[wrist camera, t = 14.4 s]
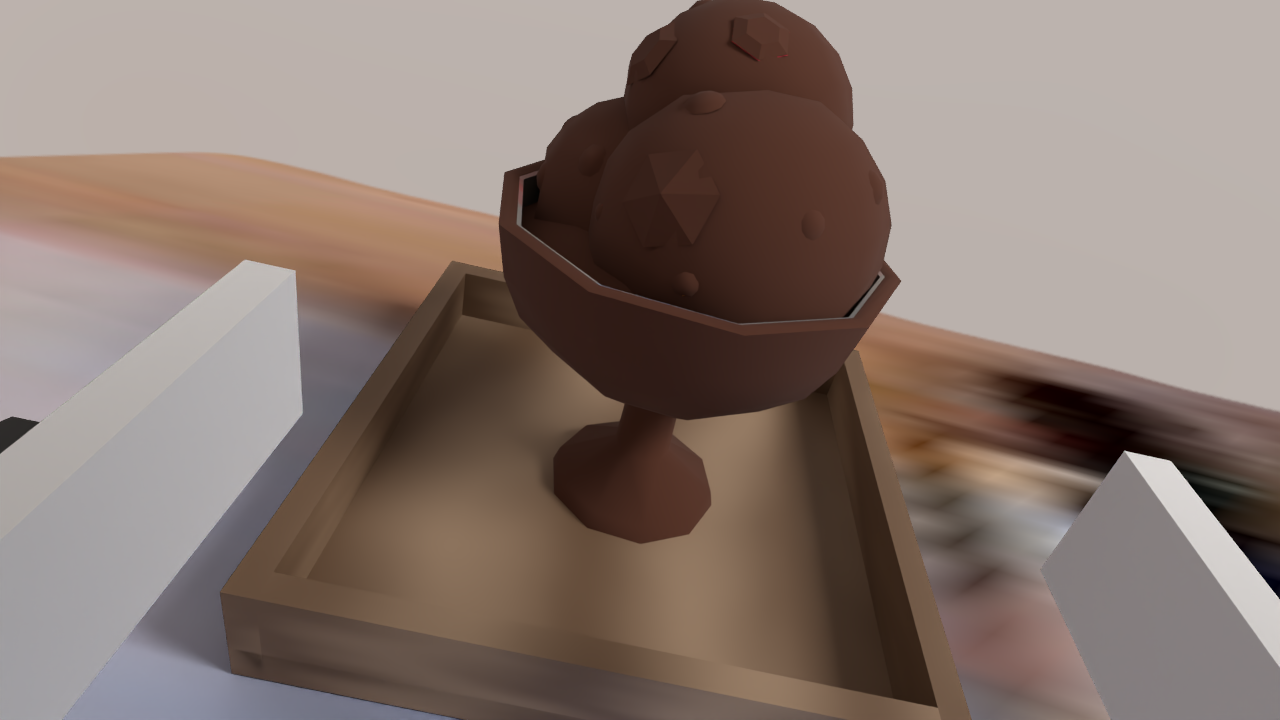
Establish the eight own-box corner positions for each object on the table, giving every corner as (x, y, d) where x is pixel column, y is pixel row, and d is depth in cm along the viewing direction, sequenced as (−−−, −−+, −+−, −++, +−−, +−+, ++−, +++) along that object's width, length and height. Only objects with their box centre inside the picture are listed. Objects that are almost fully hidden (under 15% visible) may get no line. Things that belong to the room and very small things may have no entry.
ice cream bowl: (432, 401, 27) (464, -74, 19) (701, 376, 32) (817, -10, 24) (517, 654, 19) (631, 36, 11) (853, 569, 24) (1099, 98, 16)
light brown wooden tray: (834, 406, 34) (858, 350, 32) (927, 811, 19) (980, 746, 18) (447, 321, 33) (452, 260, 32) (231, 673, 18) (219, 592, 17)
